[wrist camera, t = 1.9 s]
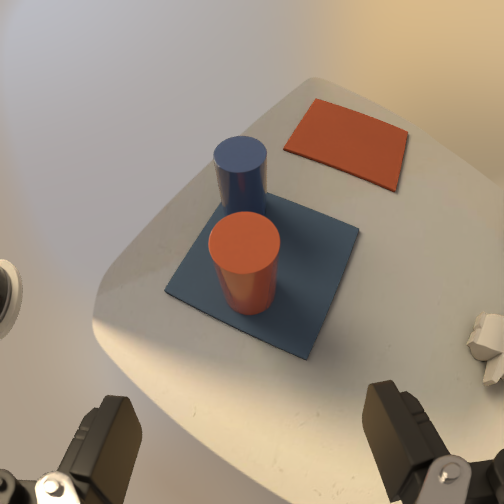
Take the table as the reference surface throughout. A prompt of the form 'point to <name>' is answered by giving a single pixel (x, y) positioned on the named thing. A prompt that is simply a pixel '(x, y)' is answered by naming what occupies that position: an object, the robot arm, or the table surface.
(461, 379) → the table surface
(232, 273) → the terracotta canister
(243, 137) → the blue canister
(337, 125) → the terracotta mat
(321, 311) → the blue mat
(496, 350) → the bunny figurine
